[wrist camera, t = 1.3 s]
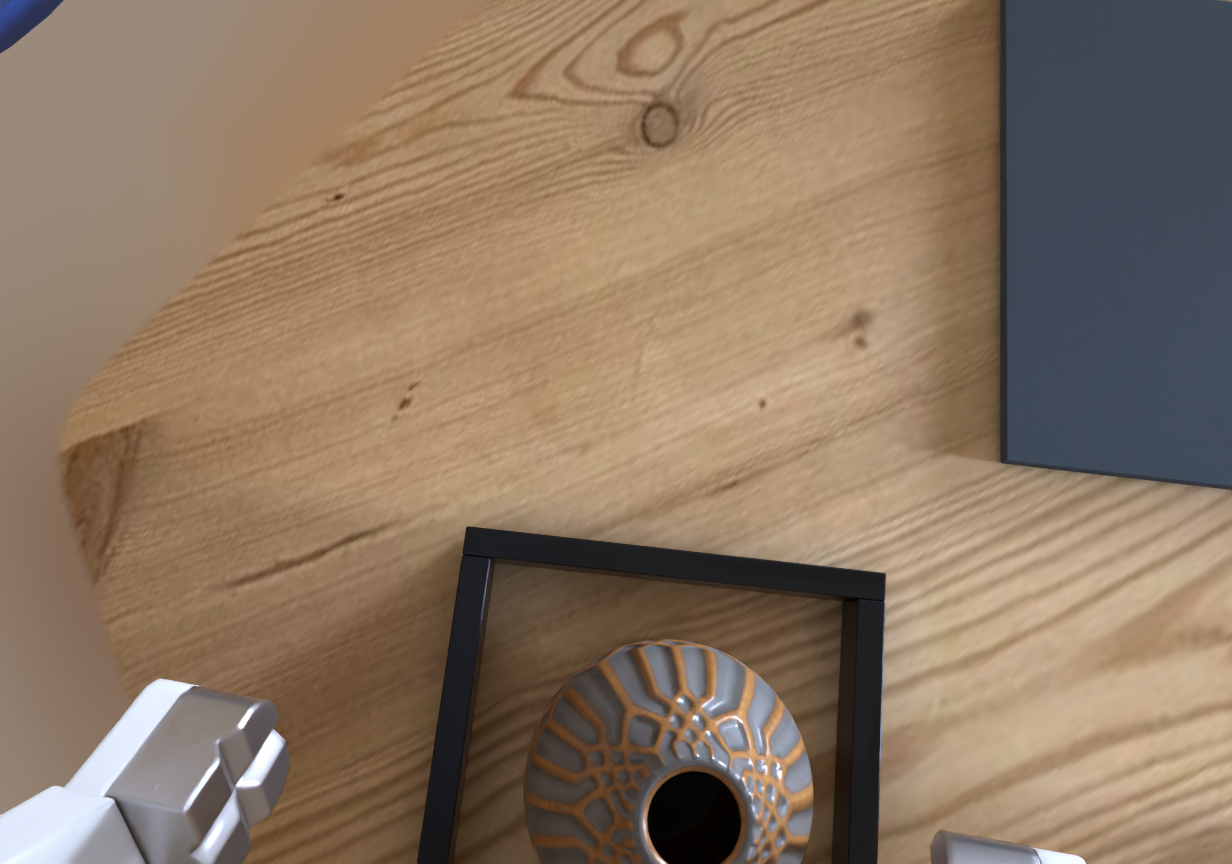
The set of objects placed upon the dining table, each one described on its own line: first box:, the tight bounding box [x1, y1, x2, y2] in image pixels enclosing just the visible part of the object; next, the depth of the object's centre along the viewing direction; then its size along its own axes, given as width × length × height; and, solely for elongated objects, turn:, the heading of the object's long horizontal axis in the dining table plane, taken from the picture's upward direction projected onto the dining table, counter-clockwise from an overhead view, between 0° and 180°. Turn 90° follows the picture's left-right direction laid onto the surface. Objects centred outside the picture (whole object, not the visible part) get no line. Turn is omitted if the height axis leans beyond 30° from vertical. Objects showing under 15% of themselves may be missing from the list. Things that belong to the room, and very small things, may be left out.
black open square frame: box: [417, 526, 886, 864], centre depth 25 cm, size 12×12×2 cm
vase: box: [524, 639, 814, 864], centre depth 21 cm, size 7×7×9 cm
